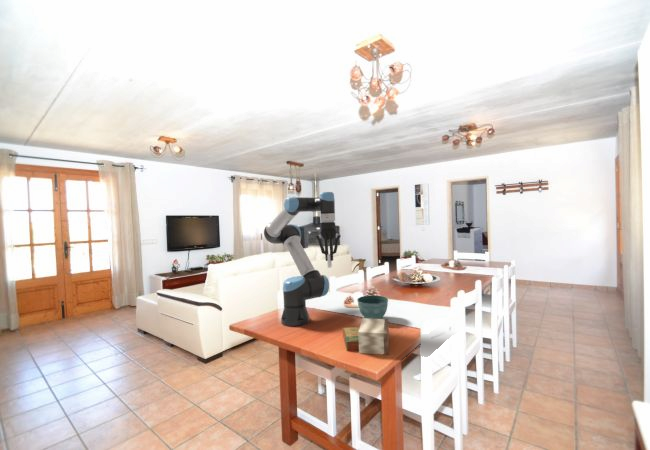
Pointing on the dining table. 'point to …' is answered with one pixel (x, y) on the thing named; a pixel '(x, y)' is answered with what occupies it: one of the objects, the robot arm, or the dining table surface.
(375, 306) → the teal bowl
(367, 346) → the marbled stone block
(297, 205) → the robot arm
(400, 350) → the dining table surface
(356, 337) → the carton
